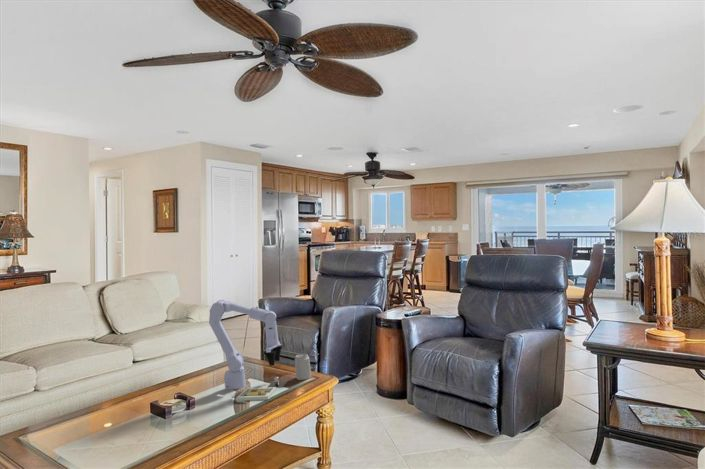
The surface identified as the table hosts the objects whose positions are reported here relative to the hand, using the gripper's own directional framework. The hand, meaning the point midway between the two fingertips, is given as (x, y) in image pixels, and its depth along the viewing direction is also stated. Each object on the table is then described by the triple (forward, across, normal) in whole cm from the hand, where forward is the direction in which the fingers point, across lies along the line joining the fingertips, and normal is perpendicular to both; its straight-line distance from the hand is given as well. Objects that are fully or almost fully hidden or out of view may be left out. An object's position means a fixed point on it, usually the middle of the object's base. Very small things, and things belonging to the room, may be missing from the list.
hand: (274, 363), depth 212 cm
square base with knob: (+10, -5, -2) cm, 11 cm away
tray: (+10, -18, +3) cm, 21 cm away
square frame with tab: (+9, -18, +3) cm, 20 cm away
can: (+10, +4, -13) cm, 17 cm away
